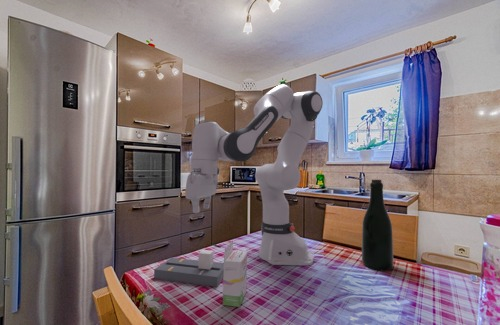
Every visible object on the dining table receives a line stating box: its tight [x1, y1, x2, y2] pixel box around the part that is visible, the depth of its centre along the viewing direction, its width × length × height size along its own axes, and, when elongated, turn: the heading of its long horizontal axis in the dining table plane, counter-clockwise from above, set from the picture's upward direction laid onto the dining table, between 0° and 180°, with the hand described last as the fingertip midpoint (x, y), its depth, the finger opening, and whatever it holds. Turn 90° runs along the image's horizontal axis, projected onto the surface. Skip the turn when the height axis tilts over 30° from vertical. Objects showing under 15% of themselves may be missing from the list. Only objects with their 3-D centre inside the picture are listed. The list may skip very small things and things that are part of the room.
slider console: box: [153, 257, 224, 288], centre depth 75 cm, size 22×10×3 cm, turn 78°
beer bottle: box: [361, 178, 394, 272], centre depth 85 cm, size 10×10×33 cm
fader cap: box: [198, 249, 214, 270], centre depth 74 cm, size 4×3×6 cm
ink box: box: [222, 240, 248, 308], centre depth 62 cm, size 9×5×15 cm, turn 168°
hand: (201, 210), depth 73 cm, fingers open, 8 cm apart
